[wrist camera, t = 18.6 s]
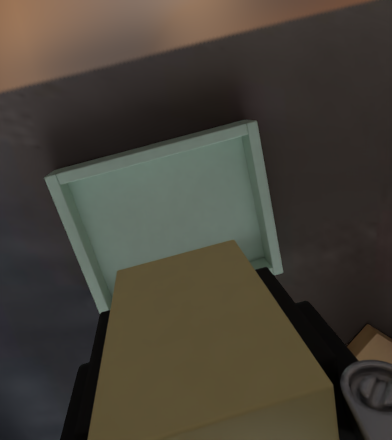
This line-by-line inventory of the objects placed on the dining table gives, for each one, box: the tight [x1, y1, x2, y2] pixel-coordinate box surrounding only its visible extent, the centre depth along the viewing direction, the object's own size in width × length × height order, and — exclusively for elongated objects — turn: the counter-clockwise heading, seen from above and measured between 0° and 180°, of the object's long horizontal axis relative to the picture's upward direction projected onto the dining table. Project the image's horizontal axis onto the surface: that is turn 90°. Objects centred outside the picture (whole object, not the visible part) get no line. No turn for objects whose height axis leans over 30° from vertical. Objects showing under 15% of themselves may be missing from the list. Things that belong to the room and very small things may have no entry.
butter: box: [87, 240, 339, 440], centre depth 8 cm, size 5×4×6 cm
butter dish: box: [44, 119, 283, 314], centre depth 19 cm, size 11×9×2 cm
